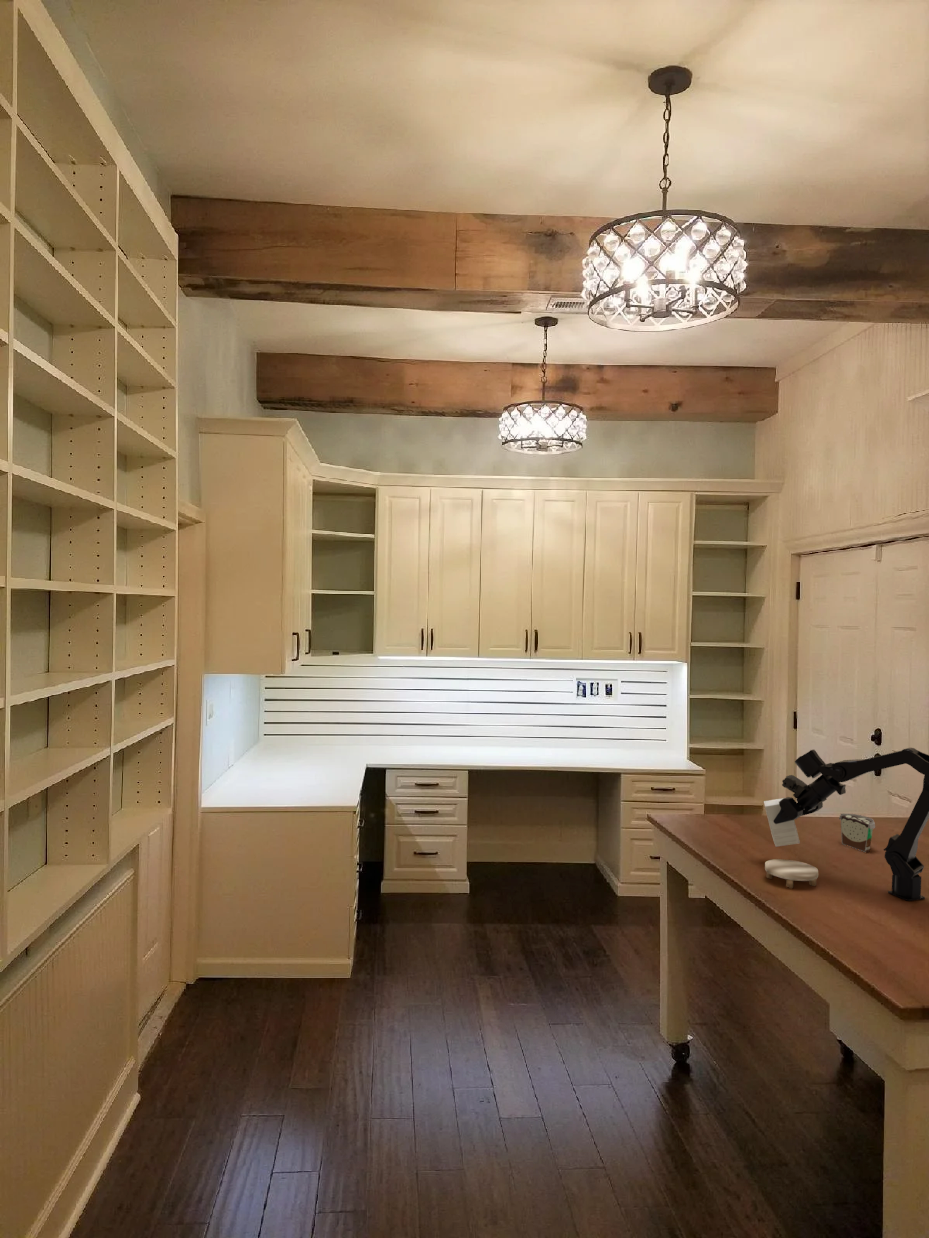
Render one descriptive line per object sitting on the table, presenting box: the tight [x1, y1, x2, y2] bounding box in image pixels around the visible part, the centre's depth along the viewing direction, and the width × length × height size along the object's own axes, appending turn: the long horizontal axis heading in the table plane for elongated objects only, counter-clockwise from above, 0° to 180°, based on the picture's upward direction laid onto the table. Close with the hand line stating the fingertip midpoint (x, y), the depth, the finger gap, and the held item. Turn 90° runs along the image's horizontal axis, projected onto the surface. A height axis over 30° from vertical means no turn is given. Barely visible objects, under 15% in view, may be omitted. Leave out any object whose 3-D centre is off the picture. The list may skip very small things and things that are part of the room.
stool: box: [764, 858, 819, 889], centre depth 224 cm, size 14×14×4 cm
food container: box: [838, 812, 876, 853], centre depth 259 cm, size 12×6×10 cm, turn 22°
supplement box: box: [763, 797, 801, 848], centre depth 240 cm, size 7×7×13 cm
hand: (781, 819), depth 240 cm, fingers closed on supplement box, 9 cm apart
